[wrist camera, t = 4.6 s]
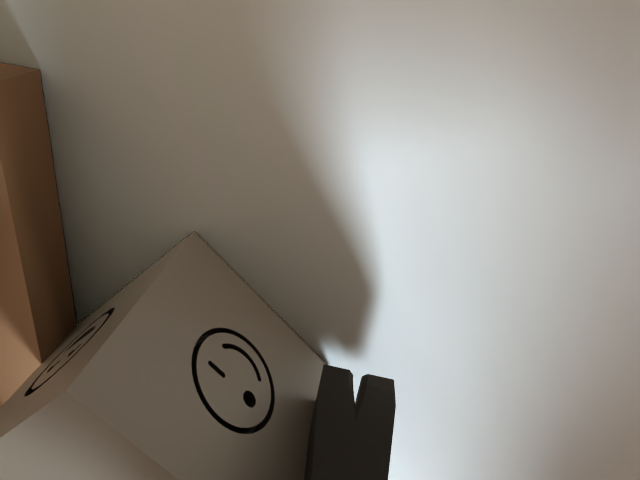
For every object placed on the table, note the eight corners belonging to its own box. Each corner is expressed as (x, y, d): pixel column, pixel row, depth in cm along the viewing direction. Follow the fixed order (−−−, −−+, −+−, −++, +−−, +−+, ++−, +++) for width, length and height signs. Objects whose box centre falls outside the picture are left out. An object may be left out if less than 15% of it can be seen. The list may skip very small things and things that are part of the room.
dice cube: (329, 367, 13) (293, 571, 8) (204, 434, 15) (122, 627, 10) (194, 231, 11) (66, 390, 7) (76, 326, 13) (-82, 496, 9)
